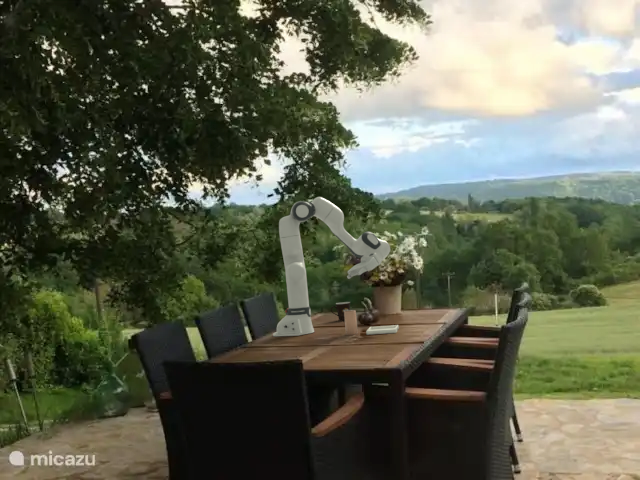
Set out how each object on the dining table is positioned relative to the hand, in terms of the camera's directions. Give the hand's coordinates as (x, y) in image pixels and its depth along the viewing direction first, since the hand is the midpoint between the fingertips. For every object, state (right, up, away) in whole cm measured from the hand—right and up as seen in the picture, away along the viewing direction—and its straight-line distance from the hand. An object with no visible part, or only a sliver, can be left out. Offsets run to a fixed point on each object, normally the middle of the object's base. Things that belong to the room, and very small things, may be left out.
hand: (353, 275), depth 412 cm
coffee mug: (-5, -29, +53) cm, 60 cm away
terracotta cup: (-1, -30, -9) cm, 31 cm away
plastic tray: (+15, -28, -11) cm, 34 cm away
